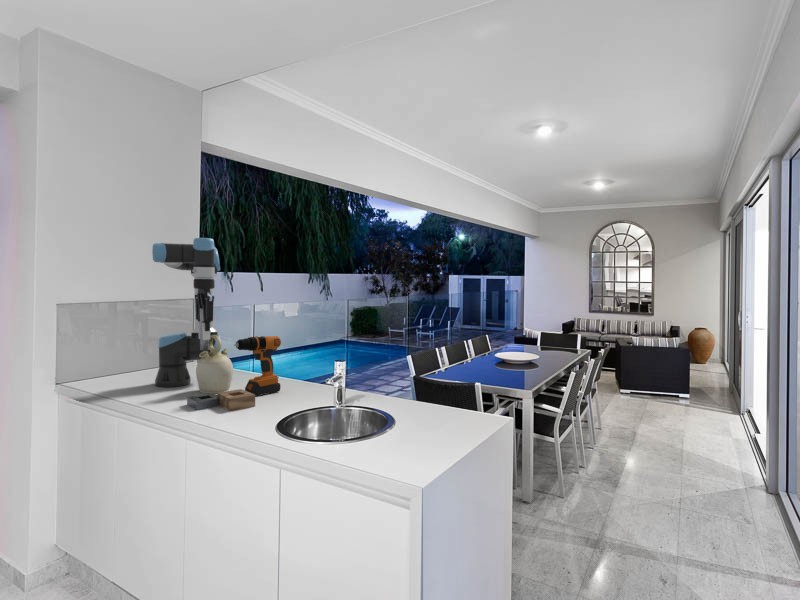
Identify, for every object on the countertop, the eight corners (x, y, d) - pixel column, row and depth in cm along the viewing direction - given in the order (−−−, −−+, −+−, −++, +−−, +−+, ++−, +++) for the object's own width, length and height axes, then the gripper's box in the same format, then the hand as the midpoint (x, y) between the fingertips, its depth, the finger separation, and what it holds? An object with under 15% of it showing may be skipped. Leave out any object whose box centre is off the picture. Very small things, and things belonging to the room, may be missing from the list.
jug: (203, 397, 204) (203, 337, 203) (191, 390, 216) (190, 334, 215) (238, 391, 214) (238, 335, 213) (225, 385, 226) (224, 331, 225)
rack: (217, 405, 191) (217, 392, 191) (241, 401, 198) (241, 389, 198) (230, 412, 183) (230, 398, 182) (255, 407, 190) (255, 394, 189)
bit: (198, 349, 189) (198, 308, 188) (207, 348, 191) (206, 307, 190) (202, 350, 187) (201, 308, 186) (210, 349, 189) (210, 308, 188)
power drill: (240, 399, 200) (239, 339, 199) (230, 396, 205) (230, 337, 204) (284, 391, 216) (284, 335, 215) (274, 388, 221) (274, 333, 220)
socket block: (187, 405, 190) (187, 397, 190) (212, 401, 197) (212, 393, 197) (196, 411, 183) (196, 402, 183) (222, 406, 190) (222, 397, 190)
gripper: (186, 278, 191) (186, 337, 192) (202, 278, 179) (202, 342, 180) (205, 278, 196) (205, 336, 197) (222, 278, 184) (222, 340, 185)
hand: (204, 338), depth 189 cm, fingers closed on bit, 3 cm apart
